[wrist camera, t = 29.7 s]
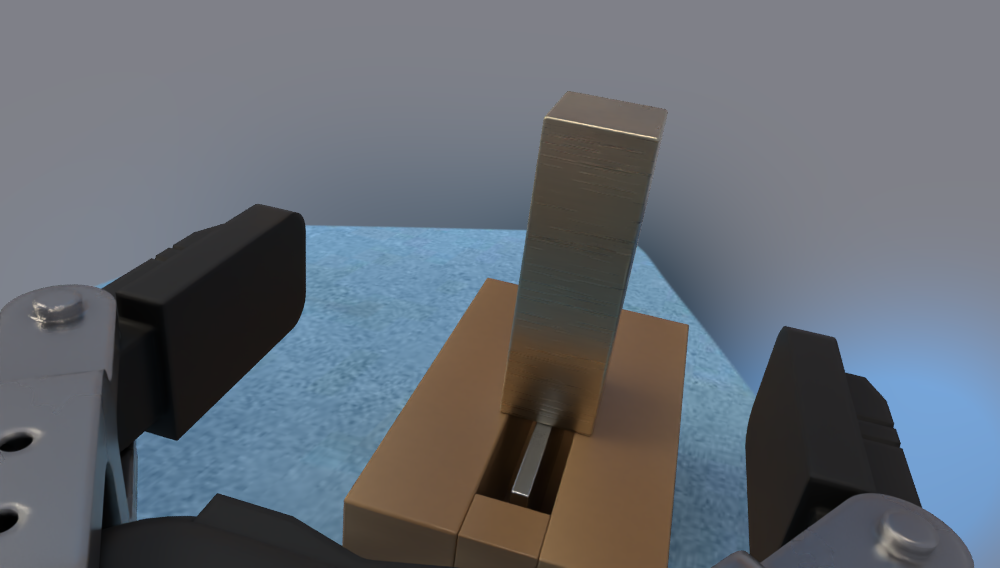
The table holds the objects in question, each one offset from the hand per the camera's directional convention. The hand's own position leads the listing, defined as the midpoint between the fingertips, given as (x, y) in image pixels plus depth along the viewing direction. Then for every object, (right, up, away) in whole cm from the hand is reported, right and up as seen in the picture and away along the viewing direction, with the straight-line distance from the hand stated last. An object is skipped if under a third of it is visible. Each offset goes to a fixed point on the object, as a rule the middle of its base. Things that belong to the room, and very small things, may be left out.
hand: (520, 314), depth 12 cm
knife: (+1, -7, +13) cm, 15 cm away
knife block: (+1, -8, +14) cm, 16 cm away
